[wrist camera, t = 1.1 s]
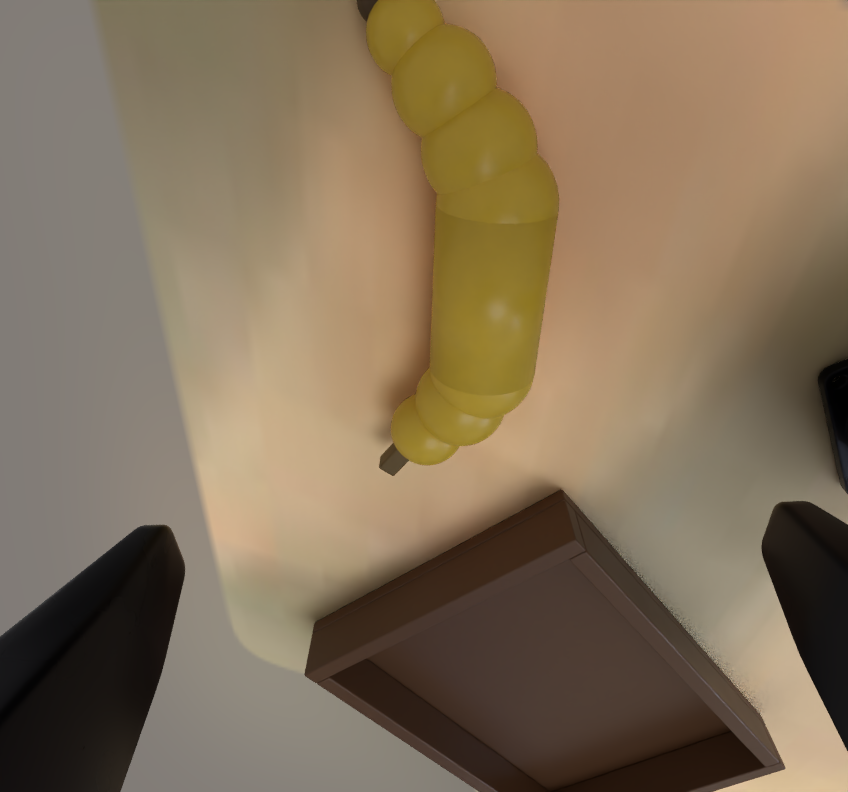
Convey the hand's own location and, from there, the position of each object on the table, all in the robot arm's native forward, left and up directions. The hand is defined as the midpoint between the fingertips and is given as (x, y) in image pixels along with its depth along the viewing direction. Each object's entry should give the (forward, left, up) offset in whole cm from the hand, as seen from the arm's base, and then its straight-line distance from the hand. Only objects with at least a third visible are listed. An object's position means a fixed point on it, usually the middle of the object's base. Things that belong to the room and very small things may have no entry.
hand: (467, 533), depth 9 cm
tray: (-23, +5, -12) cm, 26 cm away
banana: (0, 0, -12) cm, 12 cm away
